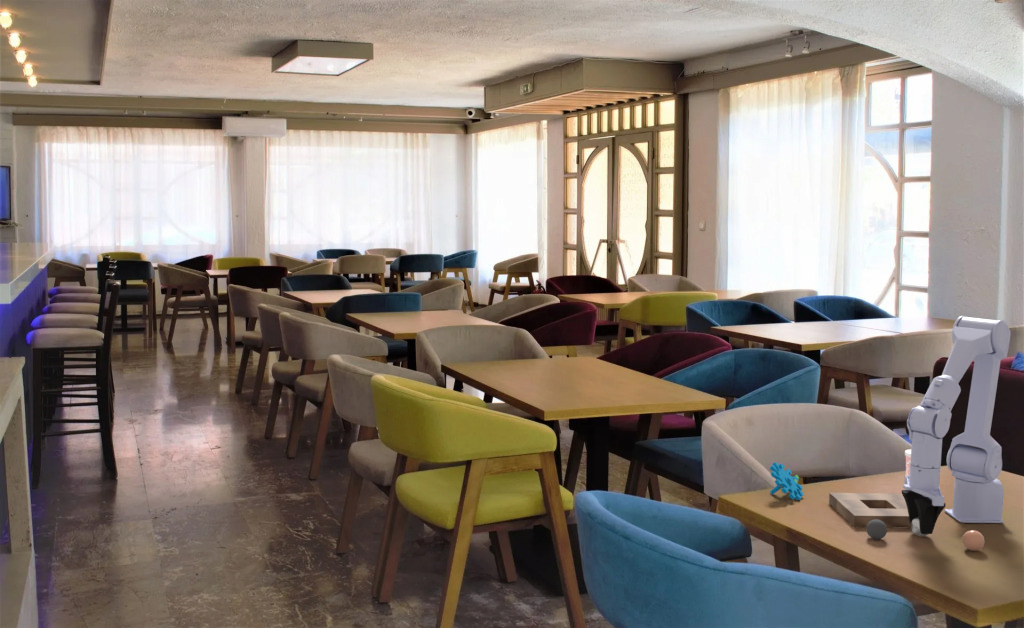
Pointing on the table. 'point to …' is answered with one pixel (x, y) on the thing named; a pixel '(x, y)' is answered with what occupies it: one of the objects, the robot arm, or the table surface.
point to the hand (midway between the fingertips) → (920, 529)
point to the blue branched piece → (786, 481)
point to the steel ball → (916, 527)
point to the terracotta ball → (973, 540)
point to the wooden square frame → (871, 508)
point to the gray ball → (876, 529)
